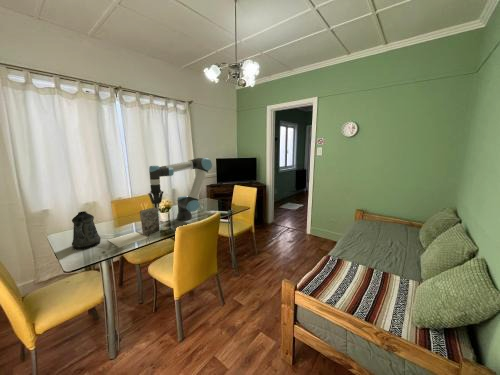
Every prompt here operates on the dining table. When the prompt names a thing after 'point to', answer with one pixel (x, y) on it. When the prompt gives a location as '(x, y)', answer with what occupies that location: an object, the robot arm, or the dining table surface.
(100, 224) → the dining table surface
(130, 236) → the mat
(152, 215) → the stone block
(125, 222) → the dining table surface
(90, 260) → the dining table surface
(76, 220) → the black drawstring bag
